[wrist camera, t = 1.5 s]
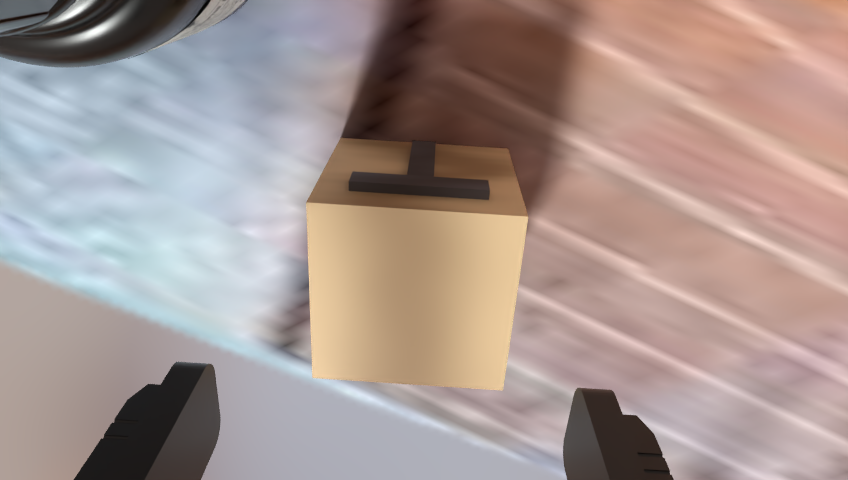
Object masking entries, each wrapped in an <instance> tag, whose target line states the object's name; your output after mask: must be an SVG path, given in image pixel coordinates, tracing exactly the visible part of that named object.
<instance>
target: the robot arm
mask: <svg viewBox="0 0 848 480" xmlns="http://www.w3.org/2000/svg"><path fill="white" fill-rule="evenodd" d="M219 430H220V410H219V402H218V394H217V387H216V377H215V370H214V367H213V365H211V364H204V363H187V362H176V363H175V364H174V365H173V366H172V367H171V369H170V371H169V372H168V374H167V375H166V377H165V379H164V380H163V382H162V384H161V385H155V384H148V385H146V386H145V387H144V388H142V389H141V390H140V391H138V392H137V393H136V394H135V395H133V396H132V397H131V398H130V399H128V400H127V402H126V403H125V405H124V406H123V407H122V409H121V410H120V412H119V413H118V415H117V416H116V418H115V422H114V423H112V424H111V425H110V427H109V428H108V430H107V431H106V433H105V434H104V438H103V439H101V440H100V441H99V443H98V445H97V446H96V447H95V449H94V451H93V452H92V453H91V455H90V456H89V458H88V459H87V461H86V462H85V464H84V465H83V467H82V468H81V470H80V471H79V473H78V474H77V476H76V477H75V479H74V480H201V478H202V475H203V473H204V471H205V469H206V466H207V464H208V462H209V460H210V457H211V455H212V453H213V450H214V448H215V446H216V443H217V440H218V435H219ZM563 458H564V467H565V472H566V476H567V480H674V479H673V477H672V475H670V470H669V468H668V465H667V463H666V461H665V459H664V458H663V457H662V452H661V449H660V447H659V445H658V442H657V440H656V438H655V435H654V434H653V432H652V431H651V430H650V429H649V428H648V427H647V426H646V425H645V424H644V423H643V422H642V421H641V420H640V419H639V418H638V416H636V415H623V414H622V412H621V409H620V407H619V404H618V401H617V399H616V396H615V394H614V392H613V391H612V390H603V389H587V388H577V389H576V391H575V393H574V397H573V402H572V406H571V411H570V415H569V420H568V424H567V429H566V433H565V438H564V446H563Z"/></svg>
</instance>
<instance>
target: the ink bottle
mask: <svg viewBox="0 0 848 480" xmlns="http://www.w3.org/2000/svg"><path fill="white" fill-rule="evenodd" d="M247 1H248V0H0V57H2V58H6V59H9V60H13V61H17V62H22V63H27V64H32V65H39V66H48V67H86V66H94V65H100V64H106V63H110V62H114V61H118V60H121V59H125V58H128V57H131V56H133V57H135V56H134V55H136V54H139V53H141V54H143V53H142V52H144V51H147V50H149V51H151V50H150V49H152V50H153V48H154V49H156V48H158V47H161V46H164V45H166V44H169V43H172V42H174V41H177V40H180V39H183V38H185V37H188V36H191V35H193V34H196V33H198V32H201V31H203V30H205V29H207V28H209V27H211V26H213V25H215V24H217V23H219V22H221V21H223V20H225V19H226V18H228V17H229V16H231V15H232V14H234V13H235V12H236V11H237V10H238V9H240V8H241V7H242V6H243V5H244V4H245V3H246V2H247ZM155 47H156V48H155ZM147 52H148V51H147ZM144 53H145V52H144ZM139 55H140V54H139ZM136 56H137V55H136ZM131 58H132V57H131ZM128 59H129V58H128Z"/></svg>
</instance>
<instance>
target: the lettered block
mask: <svg viewBox="0 0 848 480" xmlns="http://www.w3.org/2000/svg"><path fill="white" fill-rule="evenodd" d="M306 207H307V235H308V264H309V292H310V320H311V348H312V377H313V378H322V379H337V380H353V381H368V382H383V383H398V384H413V385H429V386H444V387H459V388H474V389H489V390H503V386H504V379H505V372H506V366H507V359H508V352H509V345H510V338H511V332H512V325H513V318H514V311H515V304H516V297H517V291H518V284H519V277H520V270H521V263H522V256H523V250H524V243H525V236H526V229H527V222H528V214H527V211H526V207H525V204H524V200H523V197H522V194H521V190H520V187H519V184H518V180H517V177H516V173H515V170H514V167H513V163H512V160H511V157H510V153H509V150H508V148H492V147H476V146H461V145H445V144H436V142H431V141H415V140H413V141H412V142H398V141H383V140H367V139H351V138H340V140H339V142H338V144H337V146H336V148H335V150H334V152H333V153H332V155H331V157H330V159H329V161H328V163H327V165H326V167H325V168H324V170H323V172H322V174H321V176H320V178H319V180H318V182H317V183H316V185H315V187H314V189H313V191H312V193H311V195H310V197H309V198H308V200H307V202H306Z"/></svg>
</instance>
